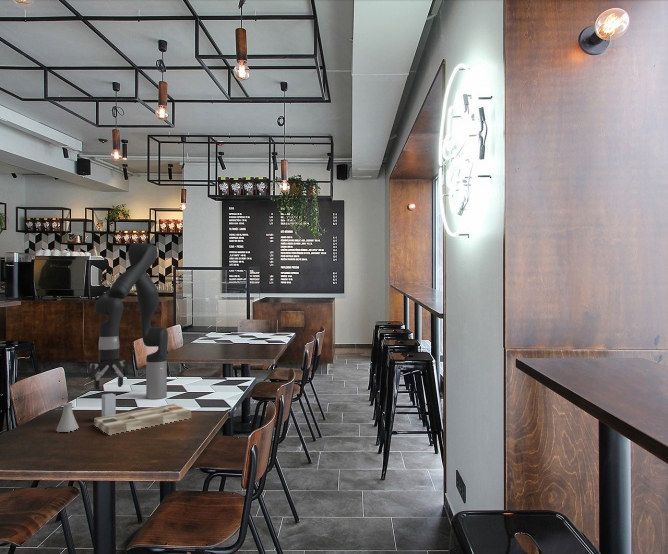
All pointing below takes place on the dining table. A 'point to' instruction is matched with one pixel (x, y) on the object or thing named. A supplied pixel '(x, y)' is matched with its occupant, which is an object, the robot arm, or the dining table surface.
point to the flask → (67, 419)
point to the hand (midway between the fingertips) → (108, 388)
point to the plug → (108, 404)
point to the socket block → (141, 418)
